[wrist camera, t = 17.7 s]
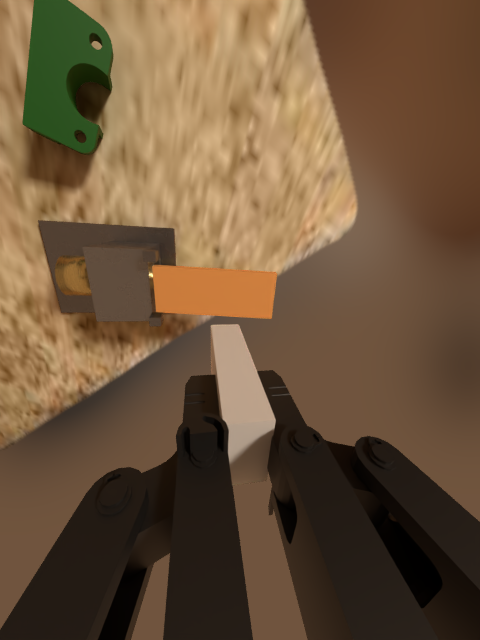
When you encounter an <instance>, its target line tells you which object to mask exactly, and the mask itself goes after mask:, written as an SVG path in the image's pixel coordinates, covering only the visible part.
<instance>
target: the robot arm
mask: <svg viewBox="0 0 480 640" xmlns="http://www.w3.org/2000/svg"><path fill="white" fill-rule="evenodd" d="M211 374H212V375H200V376H191V377H190V379H189V380H188V382H187V383H186V387H185V399H184V413H183V423H182V424H181V425H180V426H179V428H178V431H177V434H176V442H177V451H176V452H175V454H174V455H173V456H172V457H171V458H170V459H168V460H167V461H166V462H164V463H163V464H161V465H159V466H157V467H155V468H153V469H150V470H148V471H146V472H143V473H141V472H140V471H139V470H137V469H134V468H131V467H127V468H118V469H116V470H114V471H111V472H109V473H107V474H106V475H104V476H103V477H102V478H100V479H99V480H98V481H97V482H95V483H94V485H93V486H92V487H91V488H90V490H89V491H88V492H87V493H86V495H85V496H84V498H83V500H82V501H81V503H80V504H79V506H78V507H77V509H76V511H75V512H74V514H73V515H72V517H71V519H70V520H69V522H68V523H67V525H66V526H65V528H64V530H63V531H62V533H61V534H60V536H59V537H58V539H57V541H56V542H55V544H54V545H53V547H52V549H51V550H50V552H49V553H48V555H47V557H46V558H45V560H44V561H43V563H42V564H41V566H40V568H39V569H38V571H37V572H36V574H35V576H34V577H33V579H32V580H31V582H30V583H29V585H28V587H27V588H26V590H25V591H24V593H23V595H22V596H21V598H20V599H19V601H18V603H17V604H16V606H15V607H14V609H13V611H12V612H11V614H10V615H9V617H8V618H7V620H6V622H5V623H4V625H3V626H2V628H1V630H0V640H131V637H132V634H133V630H134V627H135V624H136V621H137V617H138V614H139V611H140V607H141V604H142V601H143V597H144V594H145V591H146V587H147V584H148V581H149V578H150V574H151V571H152V568H153V565H154V563H155V562H156V561H158V560H159V559H161V558H162V557H164V556H166V555H167V554H169V553H170V562H169V574H168V575H169V576H168V588H167V599H166V612H165V624H164V636H163V640H253V637H252V630H251V622H250V615H249V607H248V599H247V592H246V584H245V577H244V569H243V562H242V554H241V546H240V539H239V531H238V524H237V516H236V509H235V501H234V494H233V486H234V485H240V484H247V483H254V482H261V481H266V479H267V474H268V472H269V475H270V479H271V483H272V490H271V495H270V501H269V506H268V507H269V515H272V514H273V509H274V512H275V516H276V519H277V523H278V527H279V531H280V535H281V539H282V542H283V546H284V550H285V554H286V558H287V562H288V566H289V569H290V573H291V577H292V581H293V585H294V588H295V592H296V596H297V600H298V604H299V608H300V612H301V615H302V619H303V623H304V627H305V631H306V635H307V638H308V640H480V522H479V521H478V520H477V519H476V518H475V517H473V516H472V515H471V514H470V513H469V512H468V511H467V510H465V509H464V508H463V507H462V506H461V505H460V504H459V503H458V502H456V501H455V500H454V499H453V498H452V497H451V496H450V495H448V494H447V493H446V492H445V491H444V490H443V489H442V488H441V487H439V486H438V485H437V484H436V483H435V482H434V481H433V480H431V479H430V478H429V477H428V476H427V475H426V474H425V473H423V472H422V471H421V470H420V469H419V468H418V467H417V466H416V465H414V464H413V463H412V462H411V461H410V460H409V459H408V458H406V457H405V456H404V455H403V454H402V453H401V452H400V451H399V450H397V449H396V448H395V447H393V446H392V445H391V444H389V443H388V442H386V441H384V440H381V439H379V438H375V437H370V436H367V437H361V438H360V439H359V440H358V441H357V442H356V444H355V447H353V446H348V445H343V444H337V443H332V442H329V441H326V440H324V439H323V438H322V436H321V435H320V434H319V433H318V432H317V431H315V430H314V429H313V428H311V427H308V426H307V425H306V423H305V421H304V420H303V418H302V416H301V414H300V412H299V410H298V408H297V407H296V404H295V403H294V401H293V399H292V397H291V395H290V394H289V391H288V389H287V388H286V386H285V384H284V382H283V380H282V378H281V377H280V376H279V375H278V374H277V373H275V372H274V371H273V370H269V371H256V368H255V366H254V363H253V360H252V358H251V355H250V353H249V350H248V347H247V345H246V342H245V340H244V337H243V335H242V332H241V330H240V327H239V325H238V324H237V325H236V324H235V325H211Z"/></svg>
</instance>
